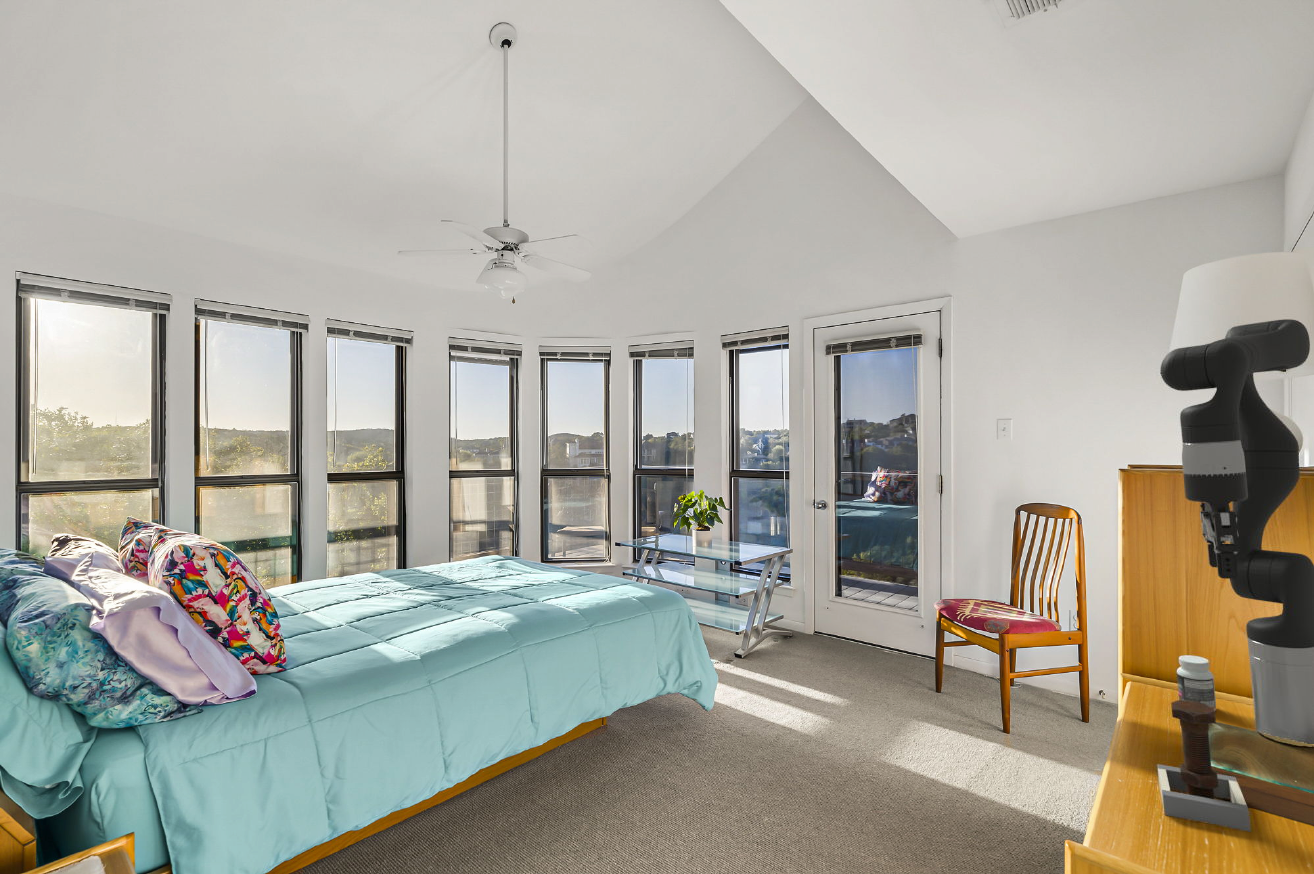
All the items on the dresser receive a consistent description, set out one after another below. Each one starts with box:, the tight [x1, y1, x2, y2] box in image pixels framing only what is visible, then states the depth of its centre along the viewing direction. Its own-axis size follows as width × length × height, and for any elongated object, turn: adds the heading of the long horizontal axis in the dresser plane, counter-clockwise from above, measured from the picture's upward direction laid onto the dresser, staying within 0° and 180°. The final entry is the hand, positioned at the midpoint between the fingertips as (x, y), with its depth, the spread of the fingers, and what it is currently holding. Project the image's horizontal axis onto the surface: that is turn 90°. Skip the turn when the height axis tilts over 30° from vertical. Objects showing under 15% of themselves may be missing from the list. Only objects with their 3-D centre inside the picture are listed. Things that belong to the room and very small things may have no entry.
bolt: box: [1170, 699, 1219, 799], centre depth 98 cm, size 6×5×15 cm
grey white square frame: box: [1156, 763, 1252, 833], centre depth 98 cm, size 10×10×3 cm
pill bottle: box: [1176, 654, 1217, 712], centre depth 129 cm, size 6×6×10 cm
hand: (1223, 572), depth 101 cm, fingers open, 8 cm apart
